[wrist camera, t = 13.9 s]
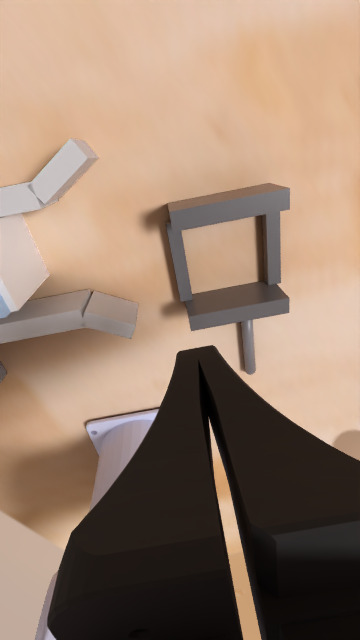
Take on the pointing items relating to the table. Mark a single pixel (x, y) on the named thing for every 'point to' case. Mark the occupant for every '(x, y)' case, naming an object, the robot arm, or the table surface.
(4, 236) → the plug
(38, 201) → the grey forked block
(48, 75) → the table surface
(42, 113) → the table surface
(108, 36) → the table surface
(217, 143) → the table surface
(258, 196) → the gray vise
